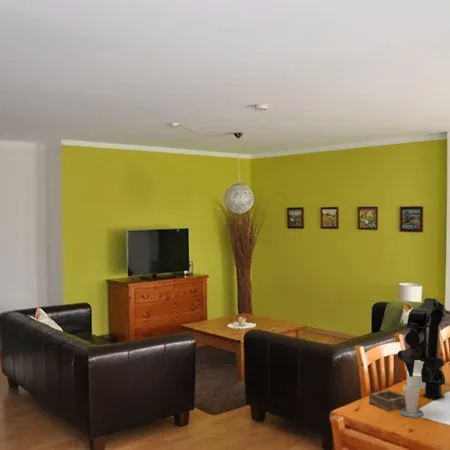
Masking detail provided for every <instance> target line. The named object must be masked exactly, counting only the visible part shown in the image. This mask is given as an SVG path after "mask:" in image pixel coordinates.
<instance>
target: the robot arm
mask: <svg viewBox="0 0 450 450" xmlns="http://www.w3.org/2000/svg"><path fill="white" fill-rule="evenodd" d="M446 315H447V310H446V308H445V305H444V304H443V303H441V302H439V300H438V299H436V298H433V297H432V298H430V297H425V298H424V300H423V302H422V304H420V305H419V307H415V308H412V309H411V310H410V312H408V317H407V321H406V328H409V331H408V332H407V333H406V334H405V336H404V340H405V343H406V344H407V345H408V348H406V349H402V350H398V352H397V359H399V360H400V361H401V362H402V363H403V364H404V365H405V367H406V371H407V370H408V373H409V376H410V377H412V376H413V370H414V362H415V360H416V361H417V360H419V361H422V362H424V363H423V368H422V370H421V377H422V382H426V386H425V389H424V390H425V391H424V392H425V393H423V394H422V396H423V397H426V398H429V399H432V400H435V401H436V400H438V399H439V400H440V399H443V398H445V395H442V386H443V385H444V386H445V385H446V378H445V374H444V371H443V367H444V366H445V363H444V360H443V358H440V357H439V354H440V353H439V351H440V332H441V331H440V330H441V326H442V325H443V323H444V322H445V318H446Z"/></svg>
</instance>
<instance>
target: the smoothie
mask: <svg viewBox="0 0 450 450" xmlns="http://www.w3.org/2000/svg"><path fill="white" fill-rule="evenodd" d="M402 390H403V393H404V394H403V395H405V403H406V407H405V408H406V410H407V412H408V413H416V412H417V409H418V404H419V396H420V395H419V394H420V391H421V389H420V388H419V387H417V386H414V383H413V377H412V385H407V384H406V385H403V386H402Z"/></svg>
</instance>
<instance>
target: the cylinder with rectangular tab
mask: <svg viewBox="0 0 450 450" xmlns="http://www.w3.org/2000/svg"><path fill="white" fill-rule="evenodd" d="M423 363H424V362H422V361H419V360H417V361H416V360H415V362H414V370H413V376H412V377H413V383H414V386H417V387H419V388H420V390H425V386H426V382H422V377H421V370H422V368H423ZM412 377H410V376H409V373H408V370H407V369H406V385H412Z"/></svg>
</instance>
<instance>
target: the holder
mask: <svg viewBox="0 0 450 450" xmlns="http://www.w3.org/2000/svg"><path fill="white" fill-rule="evenodd" d="M368 396H369V399H368V403H369V404H370V405H372V406H374V407H377V408H378V409H381V410H384V411H387V412H392V411H396V410H400V409H402V408H406V403H405V395H404V394H402V393H399V392H396V391H393V390H390V389H385V390H380V391H376V392H372V393H369V394H368Z"/></svg>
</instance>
